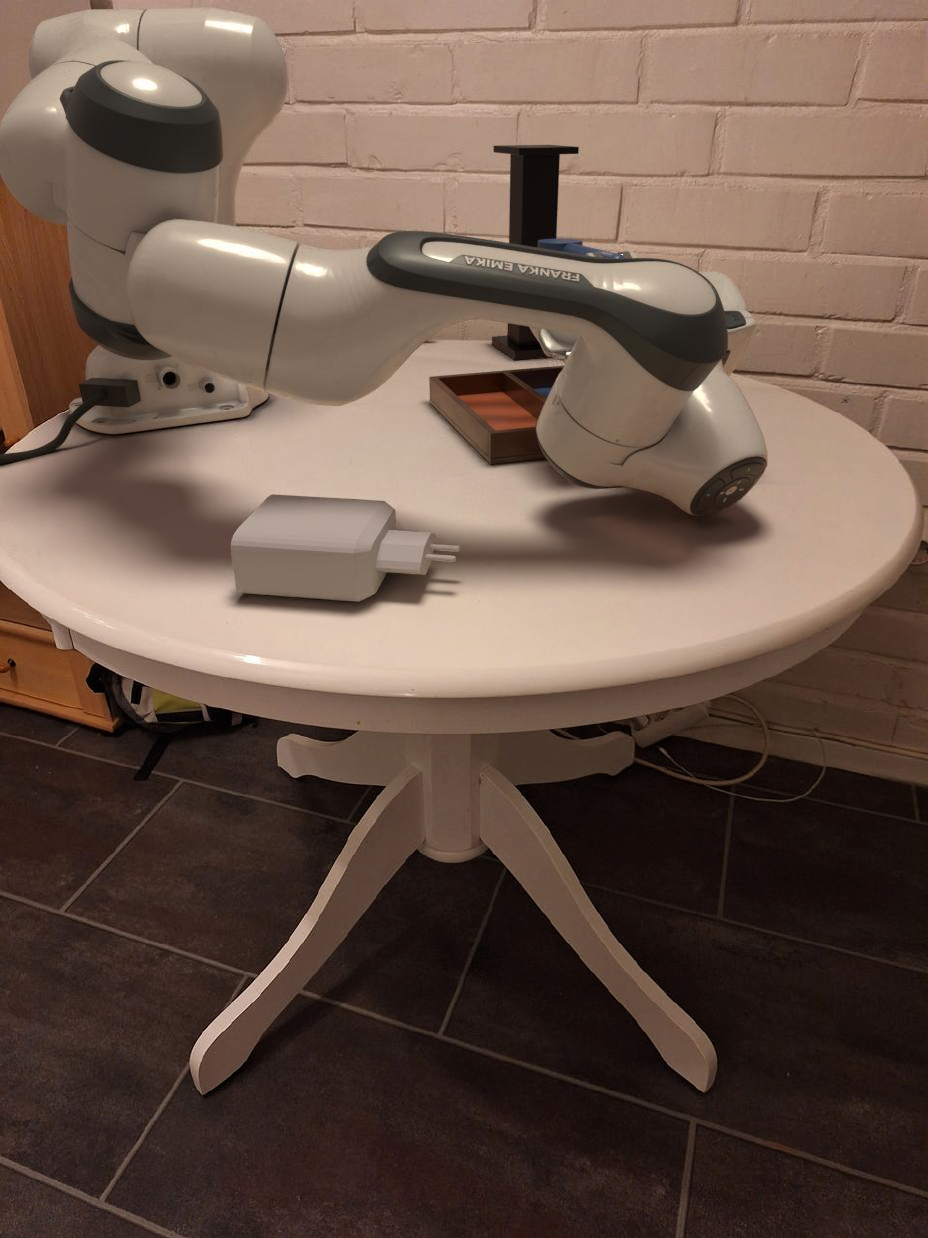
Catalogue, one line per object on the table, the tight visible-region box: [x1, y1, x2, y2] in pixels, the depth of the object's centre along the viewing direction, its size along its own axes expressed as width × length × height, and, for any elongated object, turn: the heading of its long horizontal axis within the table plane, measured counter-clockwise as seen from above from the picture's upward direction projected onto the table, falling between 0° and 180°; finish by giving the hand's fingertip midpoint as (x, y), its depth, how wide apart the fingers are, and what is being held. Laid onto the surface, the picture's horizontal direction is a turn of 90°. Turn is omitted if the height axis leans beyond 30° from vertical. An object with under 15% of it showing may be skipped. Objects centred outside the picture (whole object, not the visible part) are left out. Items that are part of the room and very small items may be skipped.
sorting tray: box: [428, 365, 564, 465], centre depth 99 cm, size 23×18×3 cm
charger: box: [230, 493, 461, 602], centre depth 66 cm, size 5×9×15 cm
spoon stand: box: [491, 144, 580, 361], centre depth 124 cm, size 10×8×26 cm
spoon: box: [538, 238, 625, 258], centre depth 92 cm, size 18×5×2 cm, turn 17°
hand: (607, 257), depth 87 cm, fingers closed on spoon, 2 cm apart
